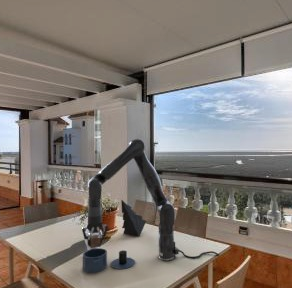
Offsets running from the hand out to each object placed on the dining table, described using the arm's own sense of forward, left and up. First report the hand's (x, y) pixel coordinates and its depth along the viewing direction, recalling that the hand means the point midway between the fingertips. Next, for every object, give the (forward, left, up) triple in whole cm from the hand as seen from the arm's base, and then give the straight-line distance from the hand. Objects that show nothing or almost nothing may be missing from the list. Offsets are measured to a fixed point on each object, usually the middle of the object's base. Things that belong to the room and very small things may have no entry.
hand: (94, 245), depth 135 cm
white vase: (-1, -18, -13) cm, 22 cm away
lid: (-15, +2, -12) cm, 19 cm away
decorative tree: (-31, -42, -13) cm, 54 cm away
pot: (0, 0, -13) cm, 13 cm away
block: (0, 0, 0) cm, 0 cm away
